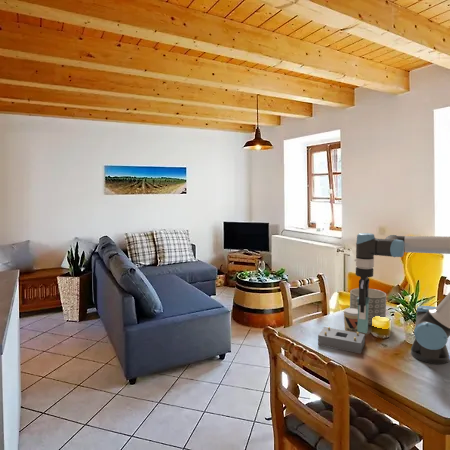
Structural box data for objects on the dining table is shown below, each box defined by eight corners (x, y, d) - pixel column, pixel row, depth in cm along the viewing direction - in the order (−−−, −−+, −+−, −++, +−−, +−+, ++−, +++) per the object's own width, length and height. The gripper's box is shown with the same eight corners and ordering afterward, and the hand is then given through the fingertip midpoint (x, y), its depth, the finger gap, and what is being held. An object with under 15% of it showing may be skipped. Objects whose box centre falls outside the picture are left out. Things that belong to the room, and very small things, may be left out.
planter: (346, 317, 214) (347, 287, 212) (379, 318, 211) (380, 288, 209) (353, 329, 195) (354, 297, 193) (389, 330, 192) (391, 298, 191)
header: (364, 343, 177) (364, 331, 176) (360, 353, 166) (360, 340, 166) (324, 336, 186) (324, 324, 186) (318, 344, 176) (318, 332, 176)
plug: (369, 330, 165) (369, 297, 163) (367, 333, 161) (368, 300, 159) (358, 328, 167) (359, 296, 166) (356, 331, 163) (357, 298, 161)
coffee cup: (342, 334, 188) (343, 312, 187) (343, 328, 197) (344, 307, 196) (361, 337, 185) (362, 314, 184) (361, 330, 193) (362, 309, 192)
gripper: (359, 263, 170) (357, 310, 172) (352, 270, 155) (351, 321, 158) (375, 264, 166) (374, 312, 169) (370, 272, 152) (369, 324, 154)
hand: (363, 317), depth 163 cm, fingers closed on plug, 4 cm apart
